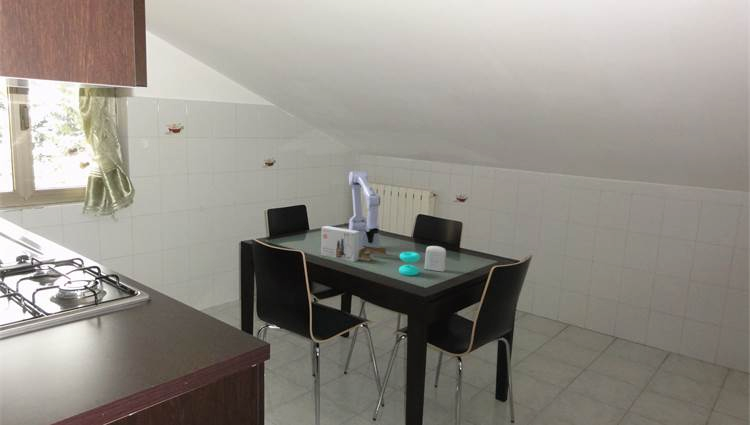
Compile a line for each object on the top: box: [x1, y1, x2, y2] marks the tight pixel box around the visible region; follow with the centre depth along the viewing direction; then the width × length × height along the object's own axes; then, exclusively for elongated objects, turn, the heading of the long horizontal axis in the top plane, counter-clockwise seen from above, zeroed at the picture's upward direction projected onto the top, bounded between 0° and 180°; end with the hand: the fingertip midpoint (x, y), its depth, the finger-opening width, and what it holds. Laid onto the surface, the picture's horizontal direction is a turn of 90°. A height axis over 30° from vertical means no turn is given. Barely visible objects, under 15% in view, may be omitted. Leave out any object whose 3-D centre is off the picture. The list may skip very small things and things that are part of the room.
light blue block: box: [363, 233, 381, 248], centre depth 292 cm, size 3×9×7 cm, turn 70°
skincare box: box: [320, 225, 360, 262], centre depth 287 cm, size 21×5×16 cm, turn 62°
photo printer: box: [424, 245, 447, 273], centre depth 271 cm, size 10×4×12 cm, turn 72°
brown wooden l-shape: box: [359, 246, 387, 257], centre depth 295 cm, size 12×14×4 cm
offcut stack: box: [360, 251, 372, 261], centre depth 286 cm, size 2×5×4 cm, turn 70°
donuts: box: [398, 251, 421, 277], centre depth 264 cm, size 10×10×10 cm
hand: (371, 242), depth 292 cm, fingers closed on light blue block, 3 cm apart
